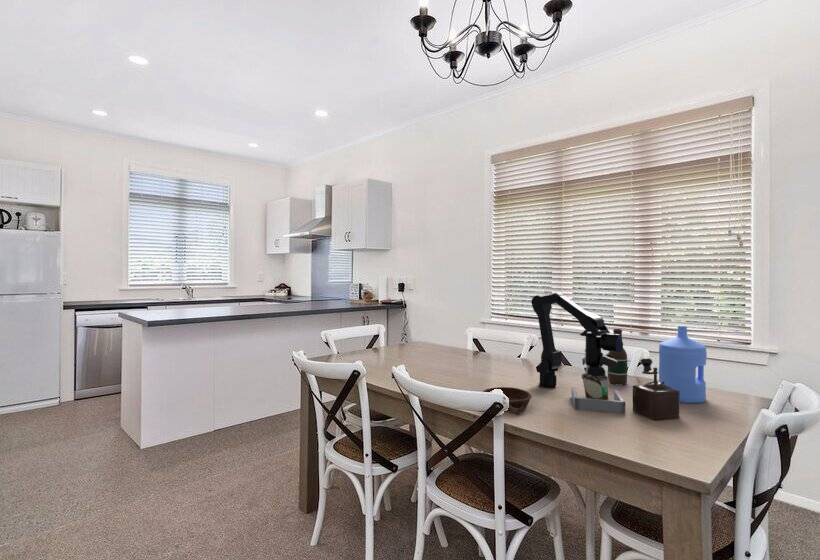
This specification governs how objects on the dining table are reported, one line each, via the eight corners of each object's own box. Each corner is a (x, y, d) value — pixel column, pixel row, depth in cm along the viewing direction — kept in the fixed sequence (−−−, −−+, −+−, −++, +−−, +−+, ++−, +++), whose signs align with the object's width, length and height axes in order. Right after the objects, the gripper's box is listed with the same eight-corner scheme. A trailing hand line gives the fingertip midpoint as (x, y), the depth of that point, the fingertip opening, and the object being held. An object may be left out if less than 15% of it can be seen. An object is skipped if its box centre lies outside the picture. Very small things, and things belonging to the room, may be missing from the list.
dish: (514, 396, 167) (514, 383, 167) (544, 414, 145) (544, 400, 145) (473, 399, 163) (473, 386, 163) (497, 418, 142) (497, 403, 141)
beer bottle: (631, 384, 183) (631, 329, 183) (618, 385, 180) (618, 330, 180) (616, 379, 190) (616, 327, 190) (603, 381, 187) (604, 328, 187)
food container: (619, 405, 152) (616, 378, 151) (604, 408, 150) (602, 381, 150) (597, 395, 164) (595, 370, 163) (583, 398, 162) (581, 373, 162)
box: (574, 409, 150) (575, 398, 150) (571, 396, 165) (571, 386, 164) (625, 413, 145) (625, 402, 145) (617, 400, 160) (617, 390, 160)
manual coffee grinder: (682, 418, 140) (683, 365, 140) (654, 421, 138) (655, 367, 138) (646, 404, 156) (647, 356, 155) (621, 406, 153) (621, 357, 153)
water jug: (664, 402, 158) (665, 328, 157) (653, 390, 173) (654, 323, 172) (712, 405, 153) (713, 330, 153) (697, 393, 168) (698, 324, 168)
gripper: (620, 354, 152) (619, 396, 153) (611, 345, 170) (610, 382, 171) (587, 352, 155) (587, 394, 156) (582, 343, 173) (581, 380, 174)
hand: (592, 387), depth 164 cm, fingers closed
